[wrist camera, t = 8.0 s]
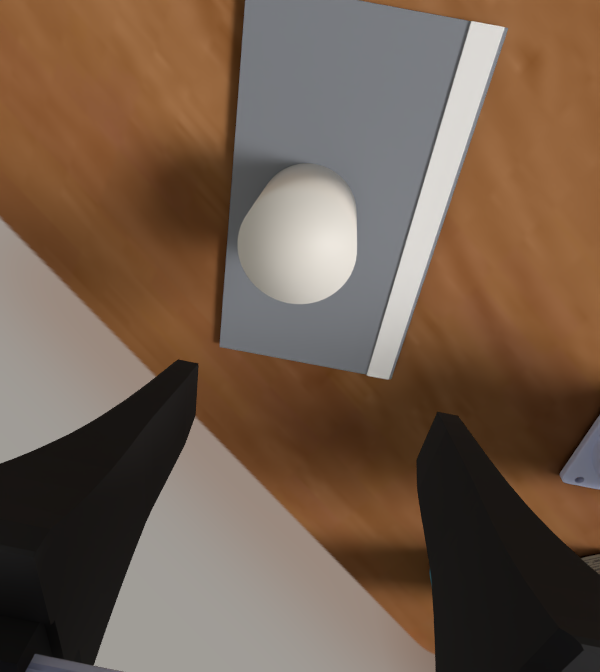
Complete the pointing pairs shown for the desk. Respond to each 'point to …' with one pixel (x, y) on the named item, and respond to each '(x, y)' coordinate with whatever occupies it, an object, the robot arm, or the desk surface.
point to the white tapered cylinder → (300, 235)
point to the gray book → (353, 161)
